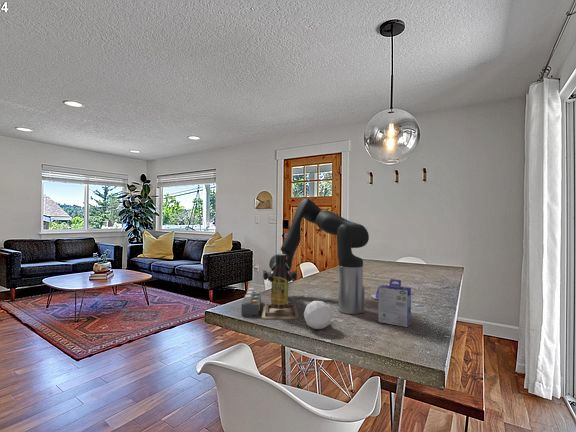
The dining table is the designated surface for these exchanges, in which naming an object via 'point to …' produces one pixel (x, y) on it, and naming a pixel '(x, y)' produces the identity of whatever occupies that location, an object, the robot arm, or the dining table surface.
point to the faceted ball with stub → (317, 315)
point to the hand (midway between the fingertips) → (280, 279)
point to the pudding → (376, 294)
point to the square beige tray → (280, 312)
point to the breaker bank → (251, 303)
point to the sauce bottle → (279, 283)
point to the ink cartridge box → (394, 304)
